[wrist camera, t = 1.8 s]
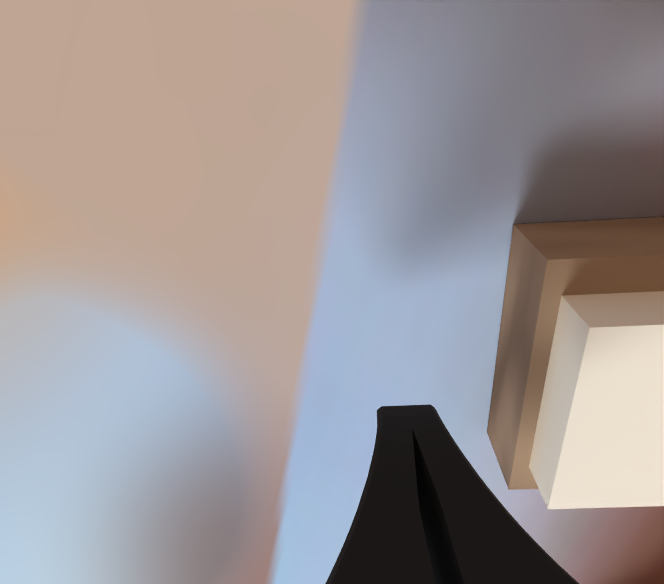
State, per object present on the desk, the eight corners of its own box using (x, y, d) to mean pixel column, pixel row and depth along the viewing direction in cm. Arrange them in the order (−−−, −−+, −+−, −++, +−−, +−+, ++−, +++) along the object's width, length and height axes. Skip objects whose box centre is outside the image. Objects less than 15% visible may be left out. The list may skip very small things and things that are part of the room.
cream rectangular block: (661, 462, 14) (694, 505, 13) (529, 466, 15) (547, 509, 13) (726, 288, 12) (776, 319, 10) (561, 295, 12) (589, 327, 11)
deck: (627, 427, 17) (669, 485, 15) (487, 432, 17) (508, 489, 15) (692, 215, 13) (762, 250, 11) (513, 224, 14) (547, 259, 11)
